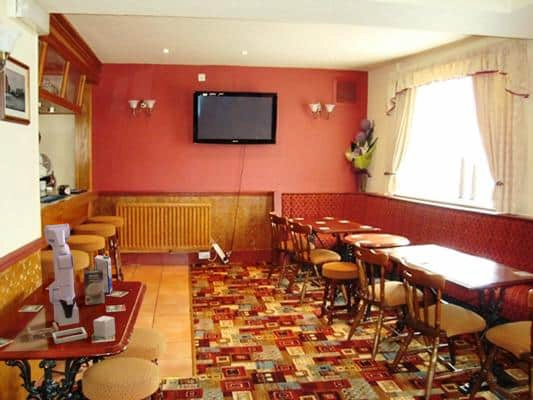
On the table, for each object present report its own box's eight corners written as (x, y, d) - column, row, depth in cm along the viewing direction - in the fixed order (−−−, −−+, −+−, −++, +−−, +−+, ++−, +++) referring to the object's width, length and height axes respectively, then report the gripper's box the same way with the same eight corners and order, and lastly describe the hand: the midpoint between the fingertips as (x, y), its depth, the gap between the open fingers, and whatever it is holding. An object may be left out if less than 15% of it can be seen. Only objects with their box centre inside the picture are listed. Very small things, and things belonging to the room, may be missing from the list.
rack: (55, 329, 217) (54, 321, 216) (58, 337, 208) (58, 328, 208) (27, 335, 211) (26, 326, 211) (29, 342, 203) (28, 334, 202)
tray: (83, 332, 213) (82, 327, 212) (87, 339, 205) (86, 333, 205) (52, 338, 207) (52, 332, 206) (55, 345, 199) (55, 340, 199)
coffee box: (85, 305, 249) (83, 273, 248) (85, 301, 255) (83, 270, 254) (104, 303, 252) (103, 271, 250) (104, 299, 258) (102, 268, 256)
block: (78, 321, 208) (77, 307, 207) (79, 322, 206) (78, 308, 206) (58, 324, 204) (57, 310, 203) (59, 326, 203) (58, 311, 202)
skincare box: (104, 332, 213) (102, 315, 212) (115, 334, 210) (114, 317, 209) (93, 337, 207) (92, 320, 206) (105, 339, 205) (104, 321, 204)
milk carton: (99, 291, 274) (97, 254, 272) (112, 290, 275) (110, 254, 272) (96, 294, 267) (94, 257, 265) (109, 294, 268) (107, 257, 265)
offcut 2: (54, 334, 210) (54, 329, 209) (55, 335, 208) (55, 331, 207) (44, 335, 208) (44, 331, 208) (45, 337, 206) (44, 332, 206)
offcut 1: (42, 336, 207) (42, 331, 207) (43, 338, 205) (42, 333, 205) (32, 338, 205) (32, 333, 205) (32, 340, 204) (32, 335, 203)
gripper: (52, 281, 208) (55, 314, 209) (58, 290, 195) (60, 324, 197) (71, 279, 211) (73, 310, 213) (77, 287, 199) (79, 320, 200)
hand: (68, 317), depth 205 cm, fingers closed on block, 1 cm apart
